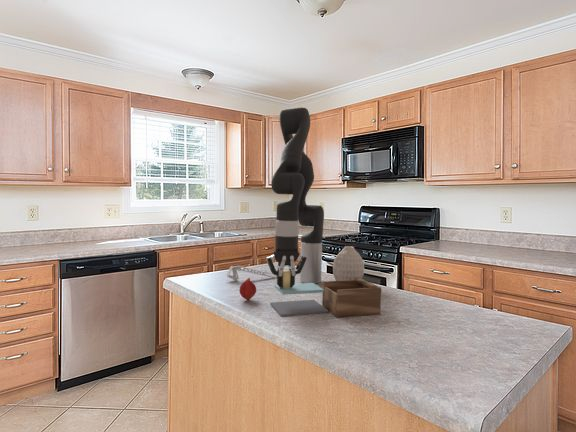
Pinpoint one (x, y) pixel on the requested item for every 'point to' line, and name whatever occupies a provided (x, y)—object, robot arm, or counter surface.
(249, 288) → the red oval lump
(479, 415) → the counter surface
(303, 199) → the robot arm
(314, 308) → the mat
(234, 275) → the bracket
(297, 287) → the thin pale-blue panel
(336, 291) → the box
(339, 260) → the vase
